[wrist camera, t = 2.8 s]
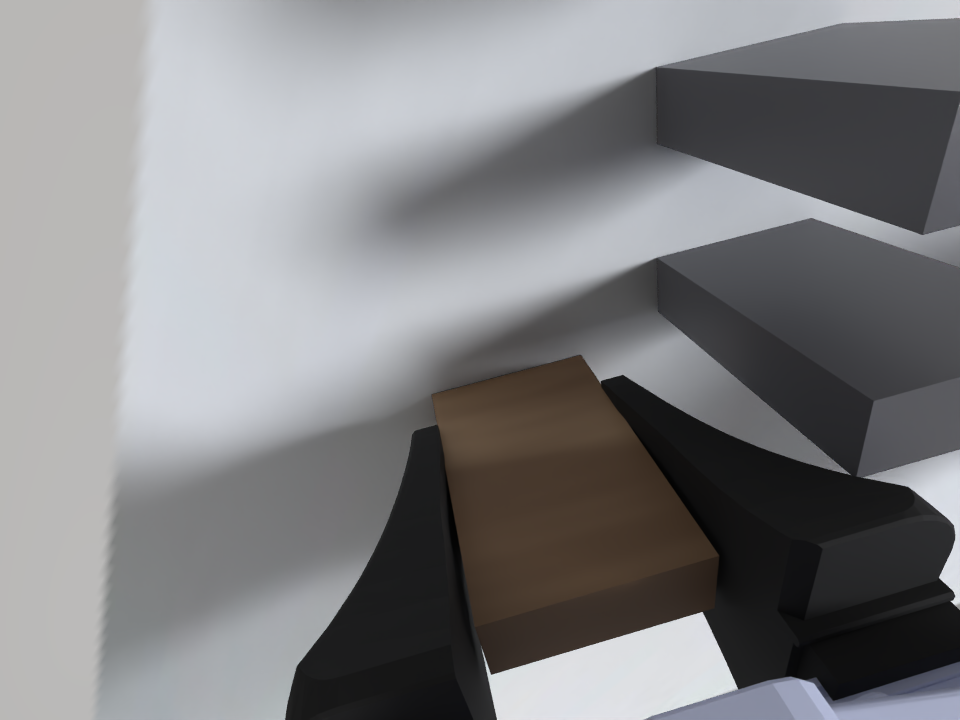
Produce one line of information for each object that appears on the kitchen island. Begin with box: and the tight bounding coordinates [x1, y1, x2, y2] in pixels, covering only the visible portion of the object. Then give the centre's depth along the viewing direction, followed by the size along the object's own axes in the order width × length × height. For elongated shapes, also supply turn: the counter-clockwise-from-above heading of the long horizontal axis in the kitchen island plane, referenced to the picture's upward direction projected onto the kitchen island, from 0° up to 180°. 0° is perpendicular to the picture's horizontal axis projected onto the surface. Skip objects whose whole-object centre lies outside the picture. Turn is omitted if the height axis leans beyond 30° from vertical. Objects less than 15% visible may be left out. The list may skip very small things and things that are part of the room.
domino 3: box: [657, 218, 960, 477], centre depth 11 cm, size 2×4×7 cm, turn 101°
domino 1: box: [432, 355, 719, 675], centre depth 12 cm, size 2×4×7 cm, turn 101°
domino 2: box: [656, 18, 960, 235], centre depth 9 cm, size 2×4×7 cm, turn 101°
